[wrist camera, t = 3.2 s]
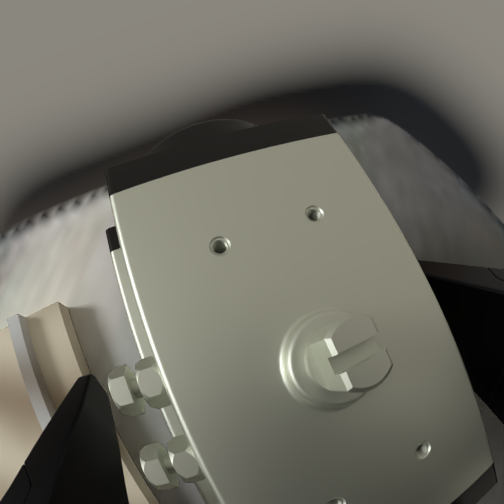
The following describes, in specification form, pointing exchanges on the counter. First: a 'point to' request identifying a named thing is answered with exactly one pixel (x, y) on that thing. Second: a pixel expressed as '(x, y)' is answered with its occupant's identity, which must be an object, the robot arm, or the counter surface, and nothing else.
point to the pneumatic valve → (286, 326)
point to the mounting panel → (43, 390)
